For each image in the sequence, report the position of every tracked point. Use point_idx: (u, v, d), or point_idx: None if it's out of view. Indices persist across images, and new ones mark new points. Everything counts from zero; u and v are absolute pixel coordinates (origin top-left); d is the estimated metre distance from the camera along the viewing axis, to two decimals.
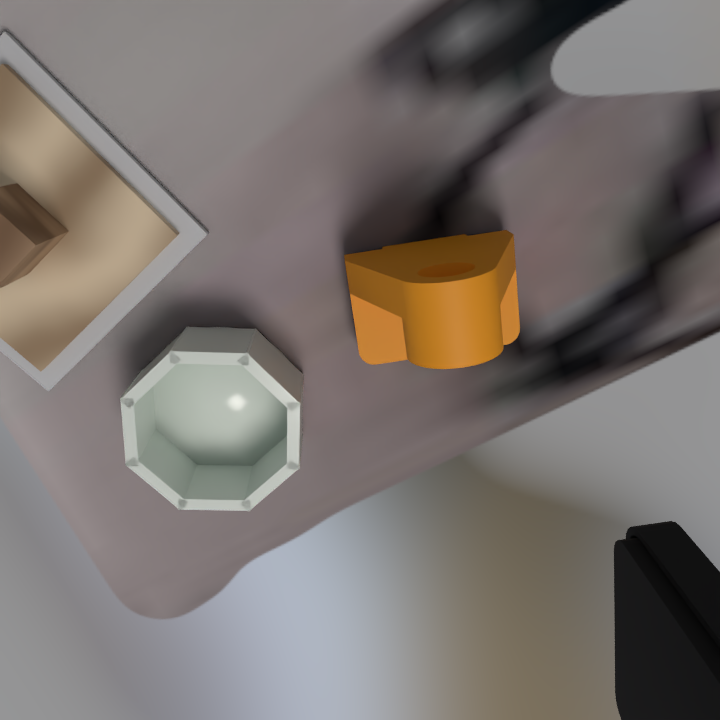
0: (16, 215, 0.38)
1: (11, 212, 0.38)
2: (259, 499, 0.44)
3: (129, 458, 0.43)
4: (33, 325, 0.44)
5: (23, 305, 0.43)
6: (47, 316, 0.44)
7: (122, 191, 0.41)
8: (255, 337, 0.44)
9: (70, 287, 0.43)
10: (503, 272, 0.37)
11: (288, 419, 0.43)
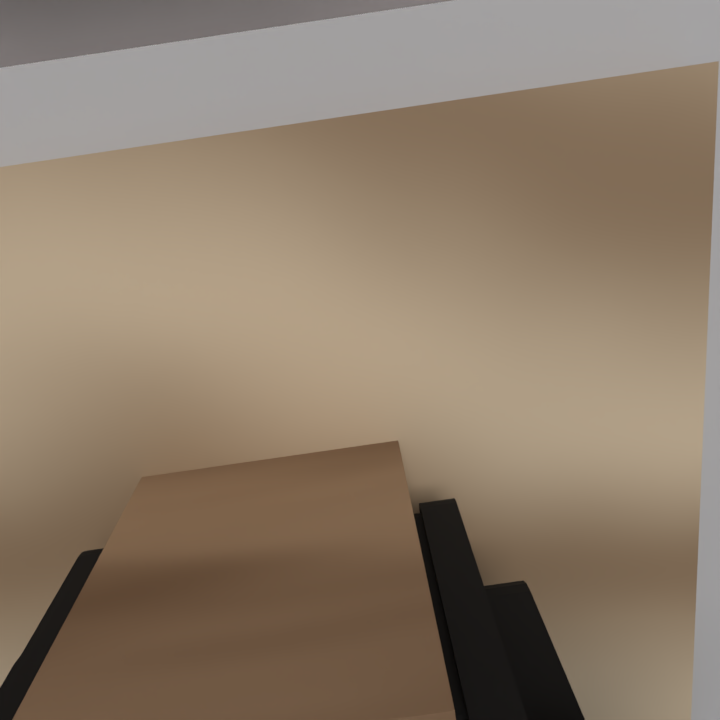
0: None
1: None
2: None
3: None
4: (553, 266, 0.09)
5: (516, 357, 0.10)
6: (472, 262, 0.09)
7: None
8: None
9: (291, 304, 0.09)
10: None
11: None
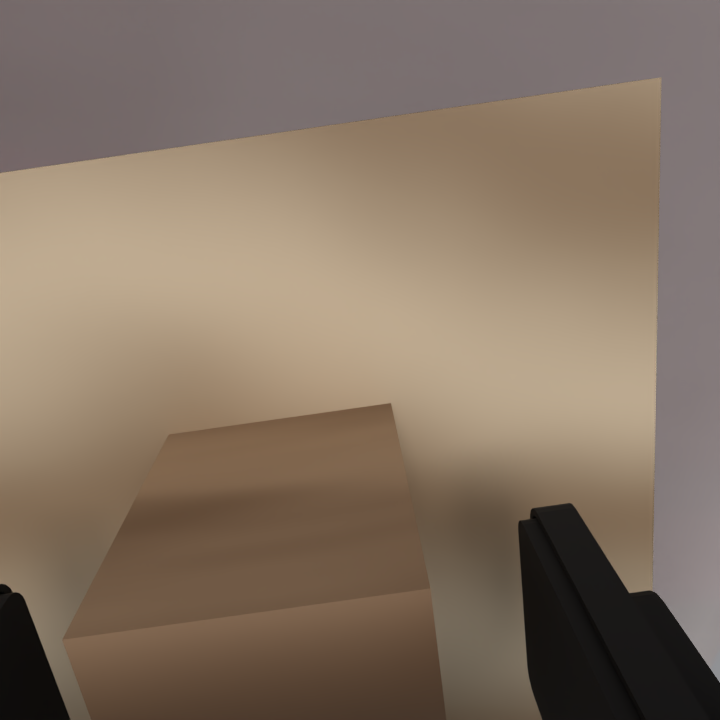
0: None
1: None
2: None
3: None
4: (524, 251, 0.11)
5: (492, 330, 0.11)
6: (454, 247, 0.11)
7: None
8: None
9: (299, 283, 0.11)
10: None
11: None
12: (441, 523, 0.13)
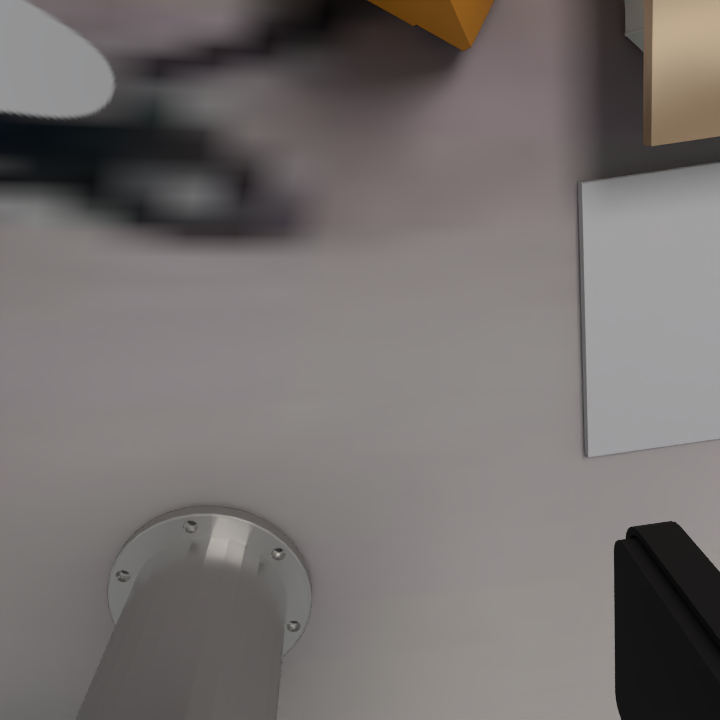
0: None
1: None
2: None
3: None
4: None
5: None
6: None
7: None
8: (639, 26, 0.31)
9: None
10: None
11: None
12: None
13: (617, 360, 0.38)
